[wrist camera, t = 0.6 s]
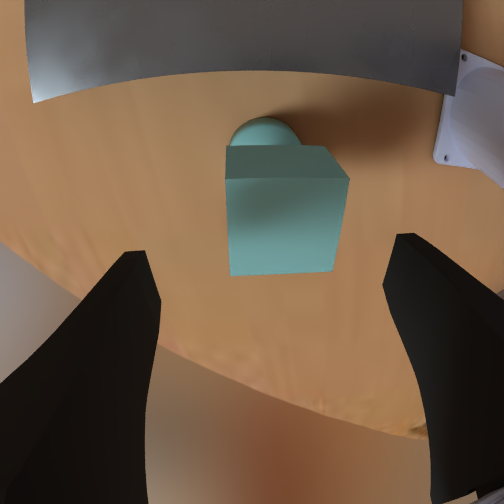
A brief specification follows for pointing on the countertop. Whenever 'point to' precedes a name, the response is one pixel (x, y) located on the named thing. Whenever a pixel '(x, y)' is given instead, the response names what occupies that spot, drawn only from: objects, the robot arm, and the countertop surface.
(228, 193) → the peg
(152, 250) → the countertop surface
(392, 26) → the keyhole bracket
